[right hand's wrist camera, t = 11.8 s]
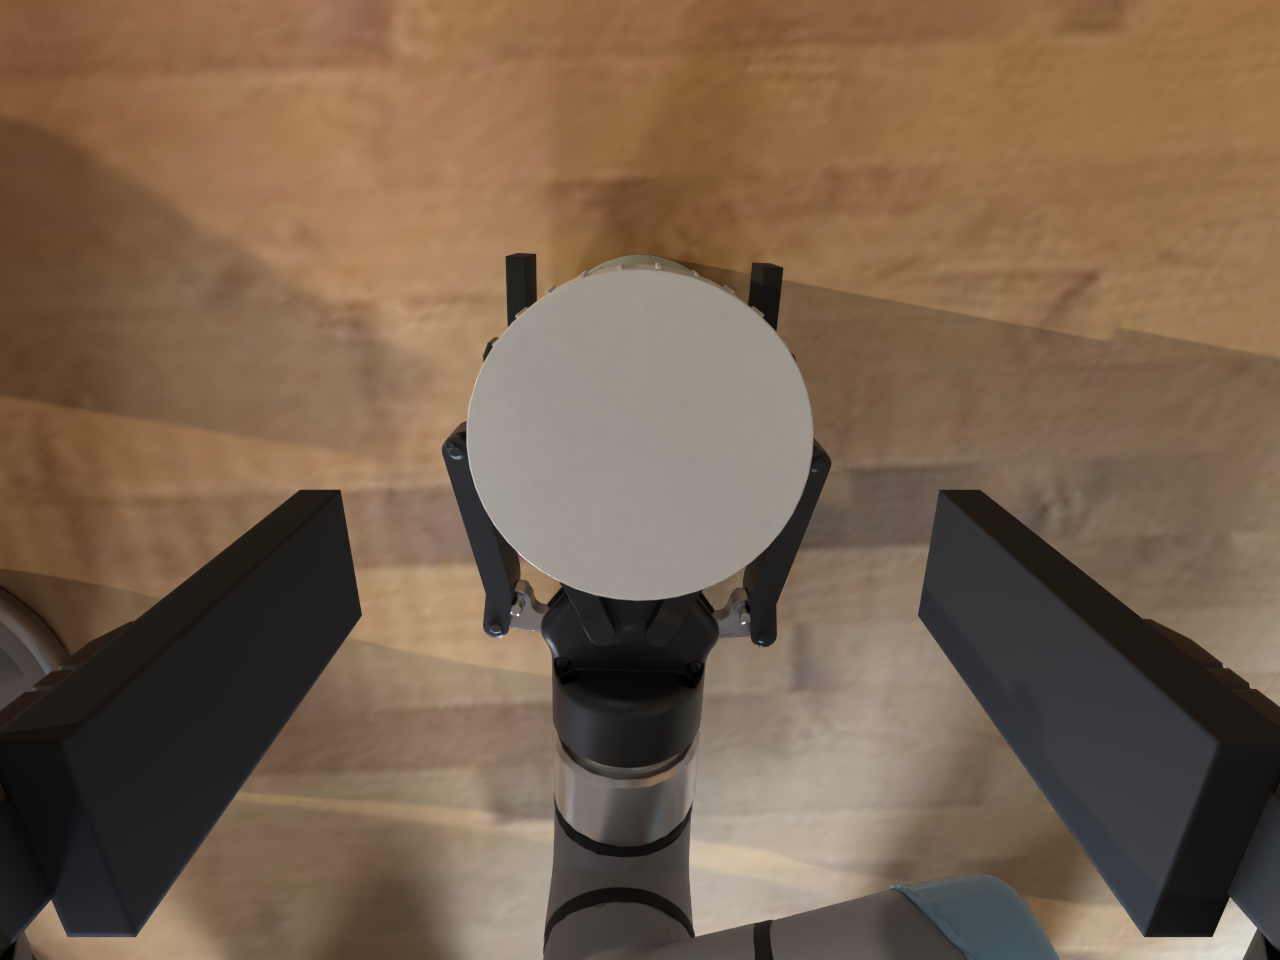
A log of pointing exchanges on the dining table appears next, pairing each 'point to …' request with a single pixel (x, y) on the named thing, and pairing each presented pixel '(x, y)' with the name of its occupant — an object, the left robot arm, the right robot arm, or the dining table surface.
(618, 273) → the lid
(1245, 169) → the dining table surface
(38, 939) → the dining table surface
